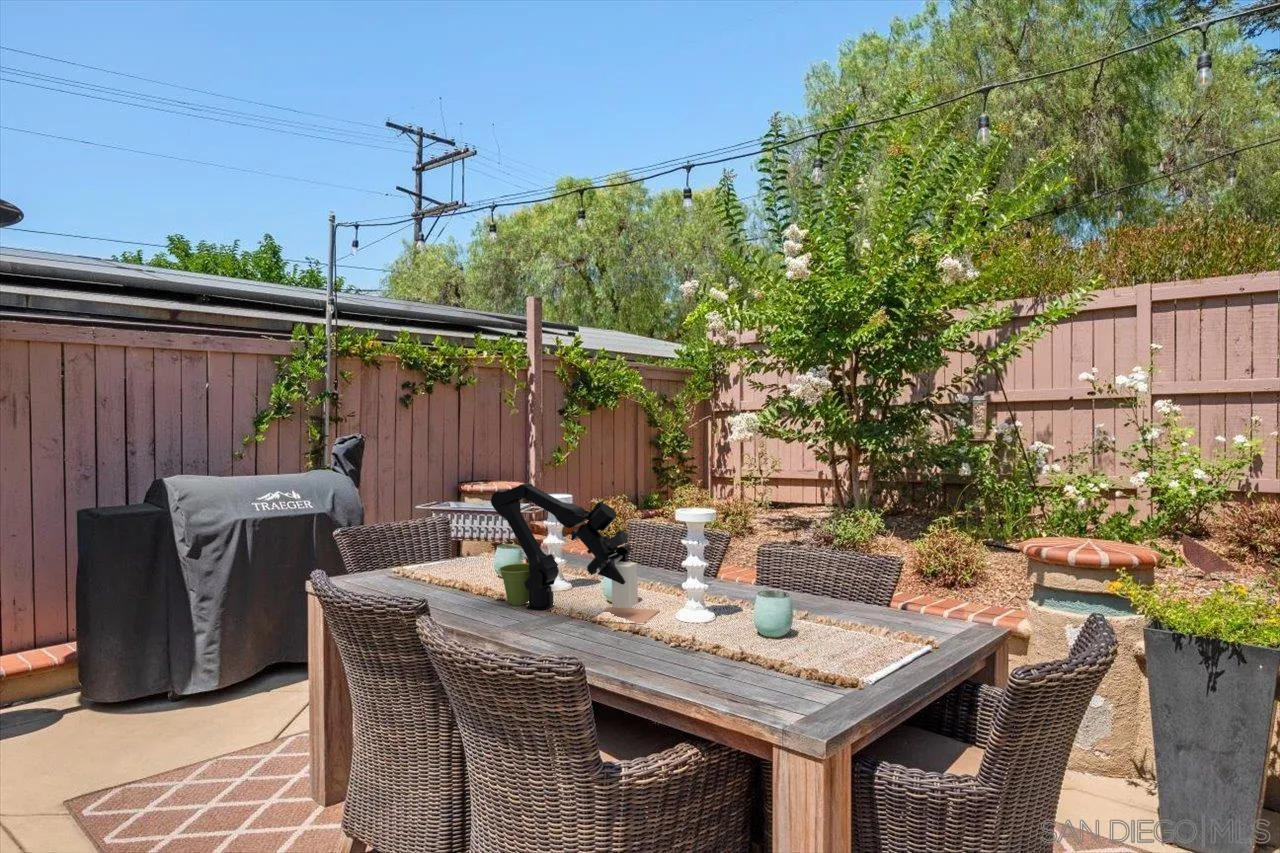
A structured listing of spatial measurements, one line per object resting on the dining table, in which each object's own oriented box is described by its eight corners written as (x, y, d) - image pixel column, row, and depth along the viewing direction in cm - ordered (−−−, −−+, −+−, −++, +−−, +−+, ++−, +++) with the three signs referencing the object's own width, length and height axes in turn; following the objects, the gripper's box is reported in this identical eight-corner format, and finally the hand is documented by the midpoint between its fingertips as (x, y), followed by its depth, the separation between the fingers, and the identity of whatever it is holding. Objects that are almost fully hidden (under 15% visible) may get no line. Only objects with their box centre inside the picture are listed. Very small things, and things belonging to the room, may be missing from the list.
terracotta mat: (590, 620, 226) (590, 619, 226) (609, 608, 239) (609, 606, 239) (643, 624, 220) (643, 623, 220) (659, 611, 234) (659, 610, 234)
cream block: (612, 606, 228) (611, 565, 228) (621, 601, 233) (620, 561, 233) (629, 608, 226) (628, 566, 225) (637, 603, 231) (636, 562, 230)
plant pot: (496, 601, 251) (495, 565, 251) (532, 596, 256) (531, 561, 256) (505, 609, 240) (503, 573, 240) (542, 604, 245) (541, 568, 245)
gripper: (595, 527, 222) (631, 569, 218) (625, 518, 239) (659, 556, 234) (571, 554, 226) (607, 595, 221) (603, 542, 243) (636, 580, 238)
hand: (628, 581), depth 229 cm, fingers closed on cream block, 5 cm apart
